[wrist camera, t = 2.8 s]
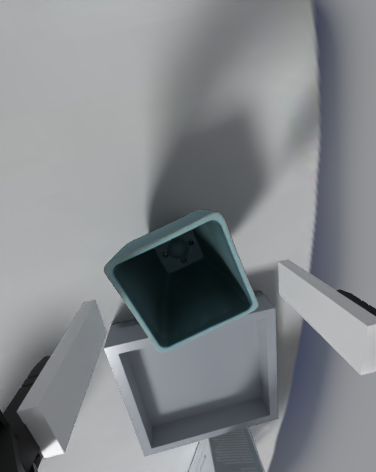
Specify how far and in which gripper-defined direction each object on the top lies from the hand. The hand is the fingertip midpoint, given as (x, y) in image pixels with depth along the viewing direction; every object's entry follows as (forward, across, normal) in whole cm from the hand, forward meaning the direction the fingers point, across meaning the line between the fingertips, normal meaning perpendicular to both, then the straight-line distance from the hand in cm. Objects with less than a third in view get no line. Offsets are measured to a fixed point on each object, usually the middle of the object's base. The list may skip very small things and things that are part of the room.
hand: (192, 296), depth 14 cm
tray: (+10, 0, -18) cm, 20 cm away
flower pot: (+10, 0, 0) cm, 10 cm away
